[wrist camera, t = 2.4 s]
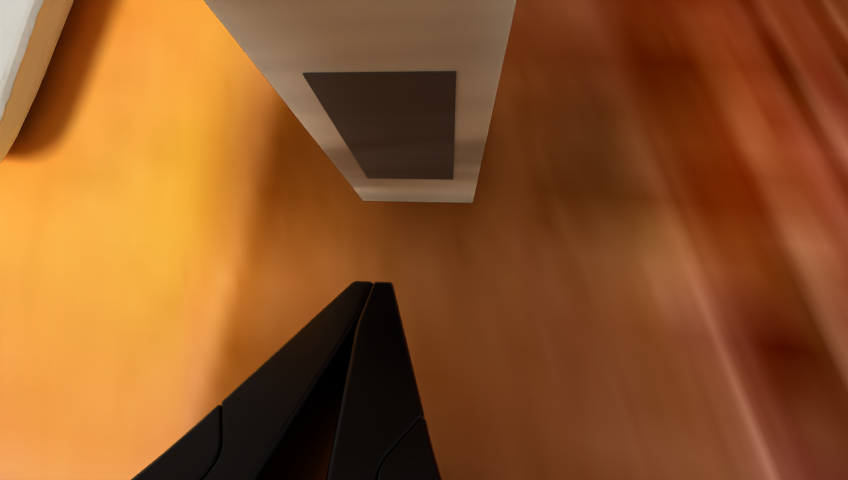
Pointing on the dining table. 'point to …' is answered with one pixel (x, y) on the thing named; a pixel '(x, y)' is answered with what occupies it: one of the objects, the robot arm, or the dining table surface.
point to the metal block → (384, 84)
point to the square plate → (25, 57)
